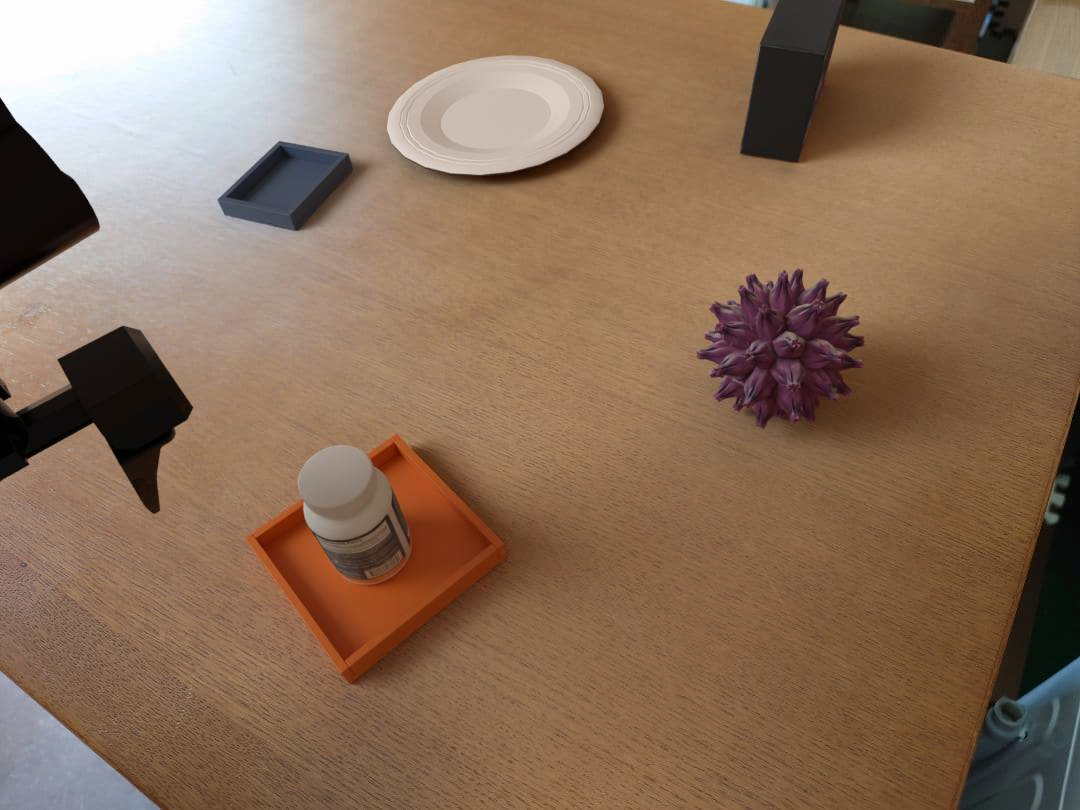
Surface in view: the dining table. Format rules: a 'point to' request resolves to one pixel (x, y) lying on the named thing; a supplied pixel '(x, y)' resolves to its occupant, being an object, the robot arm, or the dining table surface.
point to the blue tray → (286, 185)
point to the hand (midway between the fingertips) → (74, 556)
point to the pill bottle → (354, 515)
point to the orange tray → (403, 600)
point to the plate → (495, 115)
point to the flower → (781, 348)
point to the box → (790, 76)
